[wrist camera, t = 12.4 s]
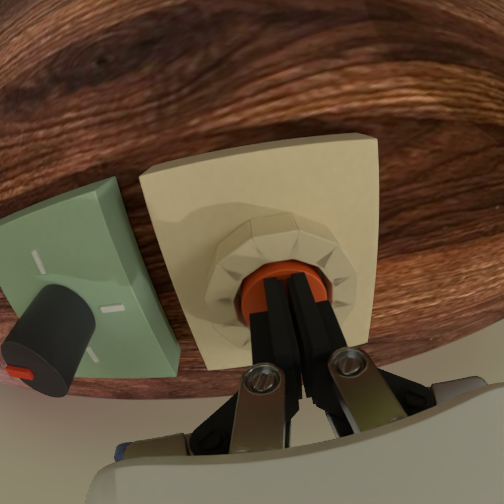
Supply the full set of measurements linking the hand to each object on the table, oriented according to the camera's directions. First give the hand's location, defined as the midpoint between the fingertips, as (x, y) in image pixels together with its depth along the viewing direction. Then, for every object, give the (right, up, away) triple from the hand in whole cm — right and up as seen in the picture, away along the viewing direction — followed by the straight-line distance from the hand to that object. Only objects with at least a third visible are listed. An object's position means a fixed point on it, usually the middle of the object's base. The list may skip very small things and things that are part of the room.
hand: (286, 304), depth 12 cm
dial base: (-12, 0, +4) cm, 13 cm away
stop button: (0, +1, +2) cm, 2 cm away
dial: (-12, -1, +2) cm, 12 cm away
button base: (0, +2, +4) cm, 4 cm away
